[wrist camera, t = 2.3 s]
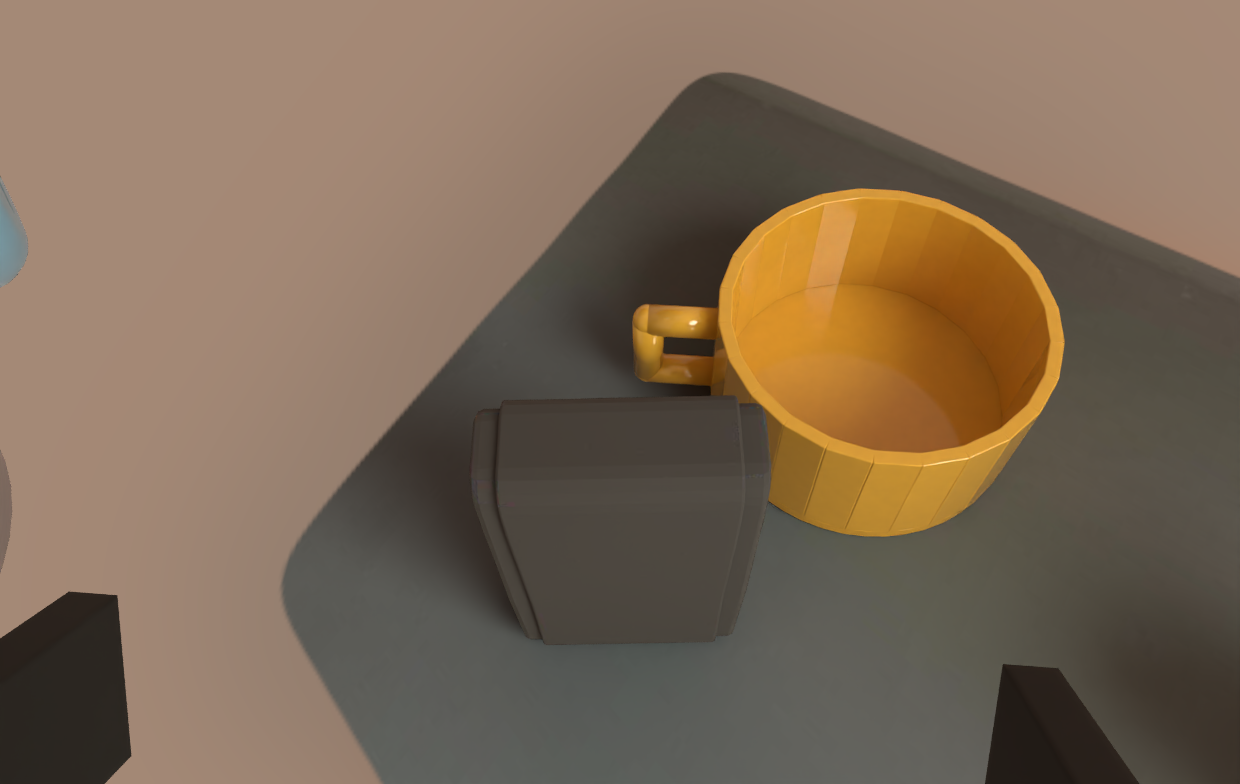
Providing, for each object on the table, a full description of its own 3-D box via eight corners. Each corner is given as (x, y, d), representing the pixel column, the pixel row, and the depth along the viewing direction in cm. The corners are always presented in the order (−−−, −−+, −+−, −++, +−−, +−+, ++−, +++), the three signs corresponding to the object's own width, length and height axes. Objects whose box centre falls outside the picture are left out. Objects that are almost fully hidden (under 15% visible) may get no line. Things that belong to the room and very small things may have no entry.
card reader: (734, 557, 43) (770, 374, 30) (741, 648, 40) (783, 492, 28) (527, 561, 43) (474, 381, 30) (523, 652, 41) (465, 499, 28)
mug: (992, 290, 50) (1038, 196, 44) (1027, 548, 42) (1089, 477, 36) (645, 271, 51) (644, 177, 45) (621, 519, 44) (616, 445, 38)
